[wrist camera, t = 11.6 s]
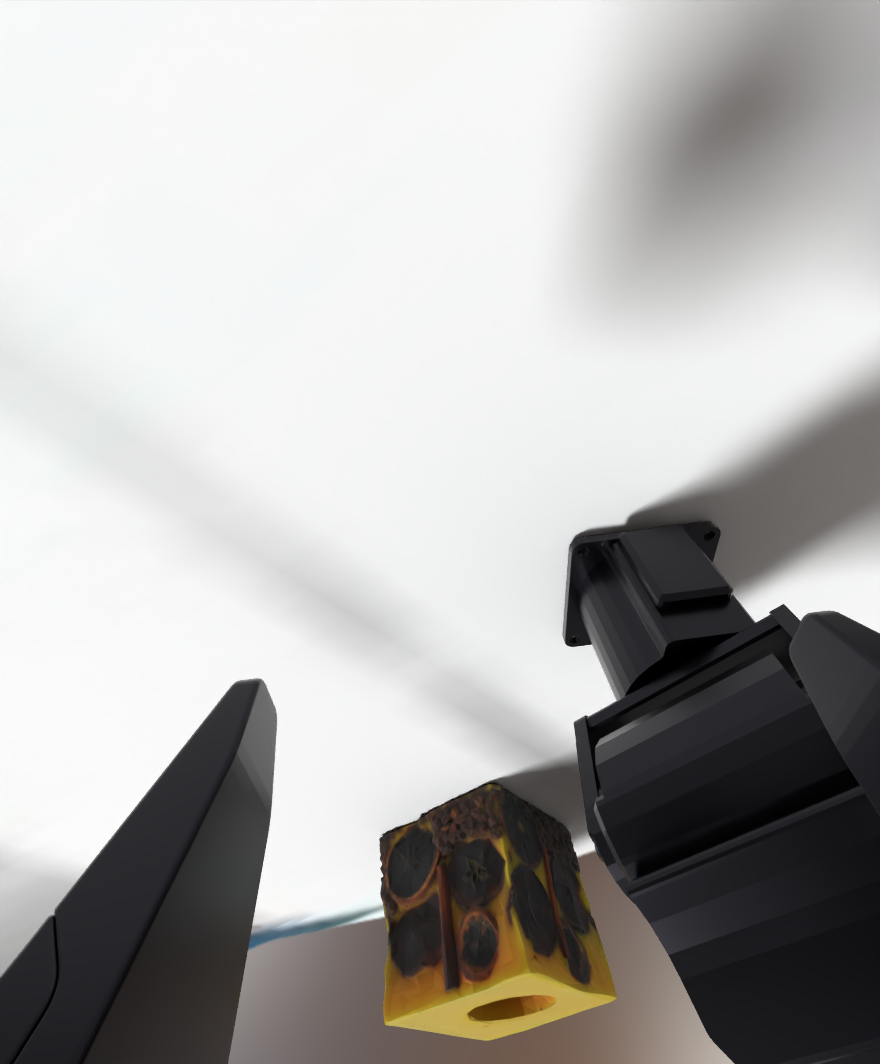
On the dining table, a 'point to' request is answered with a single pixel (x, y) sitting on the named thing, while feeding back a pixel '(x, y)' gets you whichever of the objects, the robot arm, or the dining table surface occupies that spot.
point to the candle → (487, 921)
